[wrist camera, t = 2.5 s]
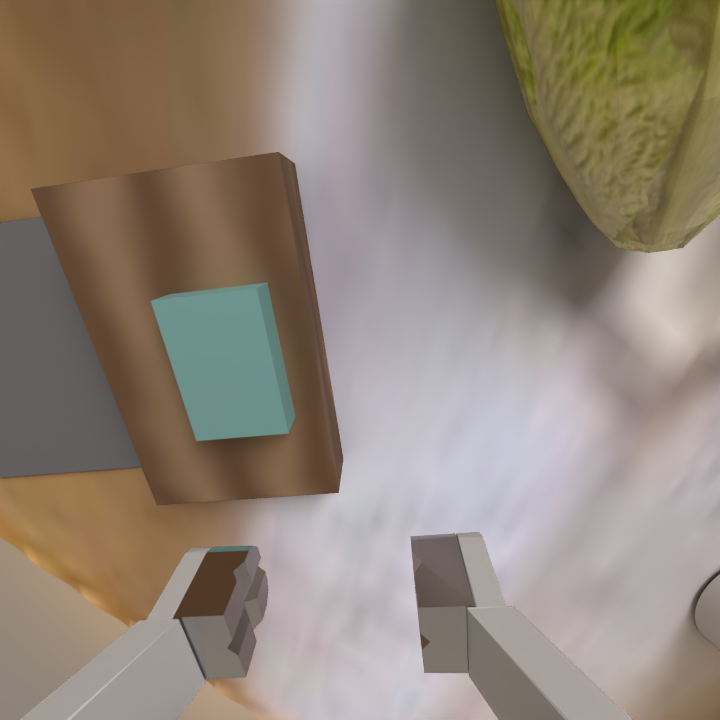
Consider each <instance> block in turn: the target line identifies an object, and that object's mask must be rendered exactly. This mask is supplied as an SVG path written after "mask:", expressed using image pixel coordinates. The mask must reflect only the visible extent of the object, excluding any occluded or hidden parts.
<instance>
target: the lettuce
mask: <svg viewBox="0 0 720 720" xmlns="http://www.w3.org/2000/svg"><path fill="white" fill-rule="evenodd" d="M495 2H496V6H497V10H498V14H499V18H500V21H501V25H502V29H503V33H504V37H505V40H506V43H507V47H508V50H509V53H510V56H511V60H512V63H513V66H514V69H515V73H516V76H517V79H518V82H519V86H520V89H521V92H522V95H523V99H524V102H525V105H526V108H527V112H528V114H529V116H530V118H531V120H532V122H533V124H534V126H535V128H536V129H537V131H538V133H539V135H540V137H541V139H542V141H543V143H544V145H545V146H546V148H547V150H548V152H549V154H550V156H551V158H552V160H553V162H554V164H555V165H556V167H557V169H558V170H559V172H560V174H561V175H562V177H563V179H564V181H565V182H566V184H567V186H568V187H569V189H570V191H571V192H572V194H573V196H574V197H575V199H576V201H577V202H578V204H579V205H580V206H581V208H582V209H583V211H584V212H585V213H586V215H587V216H588V217H589V219H590V220H591V221H592V223H593V224H594V225H595V226H596V227H597V228H598V229H599V230H600V231H601V232H602V233H603V234H604V235H605V236H606V237H607V238H608V239H610V240H611V241H612V242H613V243H614V244H615V245H616V246H617V247H619V248H623V249H628V250H633V251H640V252H647V253H651V252H659V251H666V250H672V249H678V248H683V247H684V246H685V245H686V244H687V243H688V242H690V241H691V240H692V239H693V238H694V237H695V236H697V235H698V234H699V233H700V232H701V231H702V230H703V229H704V228H705V227H706V226H707V225H708V224H709V223H710V222H711V221H713V220H714V219H715V218H716V217H717V216H718V215H719V214H720V0H495Z"/></svg>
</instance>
